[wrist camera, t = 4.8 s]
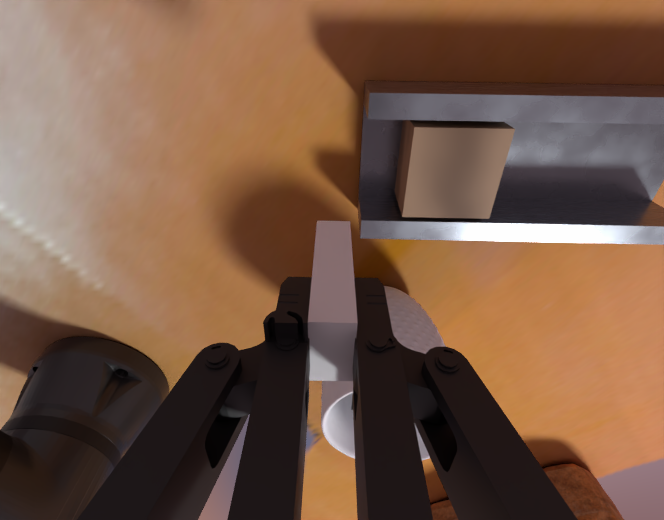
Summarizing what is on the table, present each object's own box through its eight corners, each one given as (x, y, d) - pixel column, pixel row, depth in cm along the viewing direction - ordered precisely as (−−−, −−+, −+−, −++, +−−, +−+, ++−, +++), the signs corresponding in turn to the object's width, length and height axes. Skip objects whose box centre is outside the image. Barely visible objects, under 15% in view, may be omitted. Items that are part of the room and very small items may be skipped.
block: (394, 191, 29) (402, 216, 26) (403, 111, 26) (414, 127, 22) (470, 193, 29) (489, 218, 26) (490, 112, 26) (515, 128, 22)
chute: (357, 208, 31) (360, 238, 27) (364, 80, 25) (369, 92, 21) (637, 214, 31) (684, 245, 26) (707, 85, 25) (780, 99, 21)
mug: (283, 269, 35) (257, 383, 24) (384, 216, 31) (407, 321, 20) (358, 358, 42) (365, 477, 31) (448, 323, 38) (490, 443, 27)
